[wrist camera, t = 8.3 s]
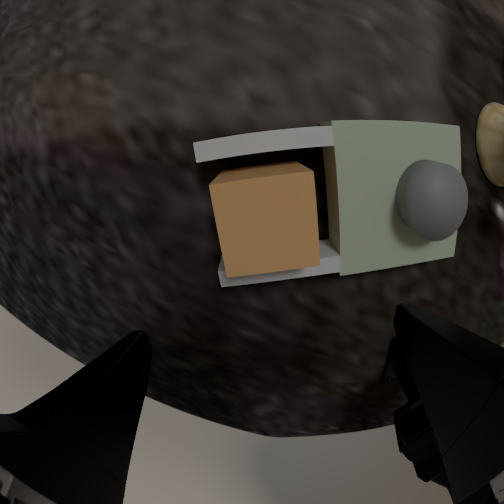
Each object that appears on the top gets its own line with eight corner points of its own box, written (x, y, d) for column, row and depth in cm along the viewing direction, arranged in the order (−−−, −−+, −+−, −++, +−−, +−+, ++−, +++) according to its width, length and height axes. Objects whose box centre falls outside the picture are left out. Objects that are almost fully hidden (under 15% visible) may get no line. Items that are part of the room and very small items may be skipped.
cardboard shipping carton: (302, 229, 20) (320, 265, 15) (233, 238, 20) (227, 277, 15) (295, 160, 18) (313, 171, 13) (222, 170, 18) (208, 185, 13)
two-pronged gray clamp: (436, 124, 16) (477, 127, 12) (434, 241, 20) (467, 267, 16) (201, 137, 17) (183, 138, 13) (226, 270, 21) (219, 308, 17)
